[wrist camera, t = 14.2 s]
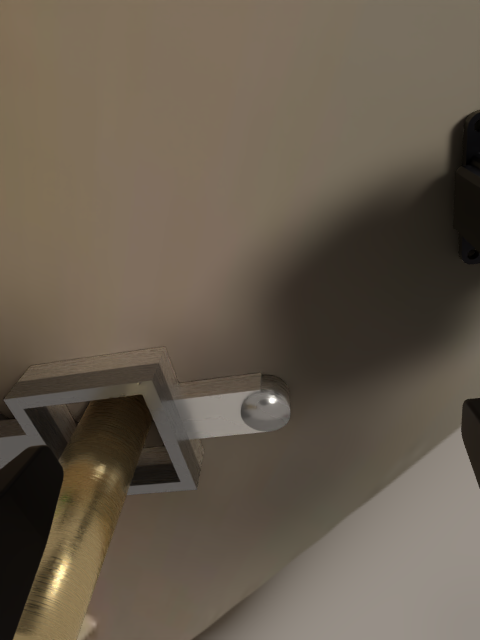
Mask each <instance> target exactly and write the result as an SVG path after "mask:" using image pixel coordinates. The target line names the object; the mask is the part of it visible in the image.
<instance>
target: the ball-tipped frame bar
mask: <svg viewBox="0 0 480 640" xmlns="http://www.w3.org/2000/svg"><path fill="white" fill-rule="evenodd" d="M140 394H142V395H143V397H144V399H145V402H146V404H147V406H148V408H149V411H150V413H151V415H152V418H153V420H154V422H155V424H156V427H157V429H158V431H159V434H160V436H161V438H162V440H163V443H164V445H165V446H160V447H150V448H143V449H142V452H141V455H140V458H139V461H138V463H137V466H136V469H135V472H134V475H133V478H132V481H131V484H130V487H129V489H128V492H127V495H134V494H146V493H159V492H172V491H184V490H197V487H198V481H199V476H200V471H201V465H202V460H203V455H204V449H203V446H202V444H201V441H200V438H210V437H219V436H229V435H239V434H249V433H259V432H269V431H275V430H278V429H280V428H282V427H283V426H285V425H286V424H287V422H288V421H289V419H290V392H289V388H288V386H287V385H286V383H285V382H284V381H282V380H281V379H279V378H277V377H274V376H270V375H261V373H254V374H246V375H238V376H230V377H223V378H215V379H207V380H199V381H191V382H183V383H179V382H178V380H177V377H176V374H175V372H174V369H173V366H172V364H171V361H170V358H169V356H168V353H167V350H166V348H165V347H158V348H151V349H144V350H137V351H130V352H123V353H116V354H109V355H102V356H95V357H88V358H81V359H74V360H67V361H60V362H53V363H46V364H39V365H32V366H30V367H29V368H28V369H27V371H26V372H25V373H24V374H23V376H22V377H21V378H20V379H19V381H18V382H17V383H16V384H15V386H14V387H13V388H12V389H11V391H10V392H9V393H8V394H7V396H6V397H5V398H4V399H3V400H4V402H5V403H6V405H7V406H8V408H9V409H10V411H11V412H12V414H13V415H14V417H15V418H16V419H11V420H9V419H8V418H7V417H5V416H4V415H2V414H0V469H1V468H3V467H4V466H5V465H6V464H8V463H9V462H10V461H11V460H13V459H14V458H15V457H16V456H18V455H19V454H20V453H21V452H23V451H24V450H25V449H26V448H28V447H30V446H37V445H47V446H49V447H50V448H51V450H52V451H53V453H54V455H55V456H56V458H57V459H58V460H59V458H60V457H61V455H62V453H63V451H64V449H65V447H66V446H67V444H68V442H69V440H70V438H71V436H72V434H73V433H74V431H75V429H76V427H77V424H76V423H75V421H74V419H73V417H72V416H71V414H70V412H69V410H68V408H67V407H66V405H65V404H67V403H75V402H84V401H92V400H100V399H108V398H116V397H124V396H132V395H140Z"/></svg>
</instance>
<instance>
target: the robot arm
mask: <svg viewBox="0 0 480 640" xmlns="http://www.w3.org/2000/svg"><path fill="white" fill-rule="evenodd" d="M479 119H480V110H477V111H475V112H473V113H471V114H470V115H469V116H468V117H467V119H466V120H465V123H464V132H463V156H462V166H460V167H459V169H458V170H457V171H456V172H455V190H454V219H453V227H454V229H455V230H456V231H457V232H458V233H459V251H458V253H459V257H460V258H461V259H462V260H463V261H464V263H467V264H478V263H480V129H479V130H477V131H475V129H474V125H475V123H476V121H477V120H479ZM472 249H476V251H475V253H474V254H473V255H471V256H467V254H468V252H469V251H470V250H472ZM461 432H462V438H463V441H464V445H465V448H466V450H467V453H468V456H469V459H470V462H471V465H472V468H473V470H474V473H475V476H476V479H477V482H478V485H479V488H480V398H475V399H467V400H465V401H464V403H463V409H462V426H461ZM63 478H64V471H63V467H62V466H61V464H60V462H59V461H58V459H57V458H56V456H55V455H54V453H53V451H52V450H51V448H50V447H49V446H47V445H37V446H30V447H28V448H26V449H25V450H24V451H23V452H21V453H20V454H19V455H18V456H16V457H15V458H14V459H13V460H11V461H10V462H9V463H8V464H6V465H5V466H4V467H3V468H1V469H0V640H13V638H14V636H15V633H16V630H17V627H18V624H19V622H20V619H21V616H22V613H23V610H24V607H25V605H26V602H27V599H28V596H29V593H30V590H31V588H32V585H33V582H34V579H35V576H36V573H37V571H38V568H39V565H40V562H41V559H42V557H43V554H44V551H45V548H46V544H47V541H48V537H49V534H50V530H51V526H52V522H53V518H54V514H55V510H56V506H57V502H58V498H59V494H60V491H61V487H62V483H63Z"/></svg>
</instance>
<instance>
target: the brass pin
mask: <svg viewBox="0 0 480 640" xmlns="http://www.w3.org/2000/svg"><path fill="white" fill-rule="evenodd" d="M152 420H153V418H152V415H151V413H150V411H149V408H148V406H147V404H146V402H145V399H144V397H143V395H141V394H140V395H132V396H124V397H116V398H108V399H100V400H92V401H90V403H89V405H88V407H87V409H86V411H85V412H84V414H83V416H82V418H81V420H80V422H79V423H78V425H77V427H76V429H75V431H74V433H73V434H72V436H71V438H70V440H69V442H68V444H67V446H66V447H65V449H64V451H63V453H62V455H61V457H60V458H59V460H58V461H59V462H60V464H61V466H62V467H63V471H64V478H63V483H62V487H61V491H60V494H59V498H58V502H57V506H56V510H55V514H54V518H53V522H52V526H51V530H50V534H49V537H48V541H47V544H46V548H45V551H44V554H43V557H42V559H41V562H40V565H39V568H38V571H37V573H36V576H35V579H34V582H33V585H32V588H31V590H30V593H29V596H28V599H27V602H26V605H25V607H24V610H23V613H22V616H21V619H20V622H19V624H18V627H17V630H16V633H15V636H14V638H13V640H77V637H78V634H79V632H80V629H81V626H82V623H83V620H84V617H85V614H86V611H87V608H88V605H89V603H90V600H91V597H92V594H93V591H94V588H95V585H96V582H97V579H98V576H99V574H100V571H101V568H102V565H103V562H104V559H105V556H106V553H107V550H108V547H109V545H110V542H111V539H112V536H113V533H114V530H115V527H116V524H117V521H118V518H119V516H120V513H121V510H122V507H123V504H124V501H125V498H126V495H127V492H128V489H129V487H130V484H131V481H132V478H133V475H134V472H135V469H136V466H137V463H138V461H139V458H140V455H141V452H142V449H143V446H144V443H145V440H146V437H147V434H148V432H149V429H150V426H151V423H152Z"/></svg>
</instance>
